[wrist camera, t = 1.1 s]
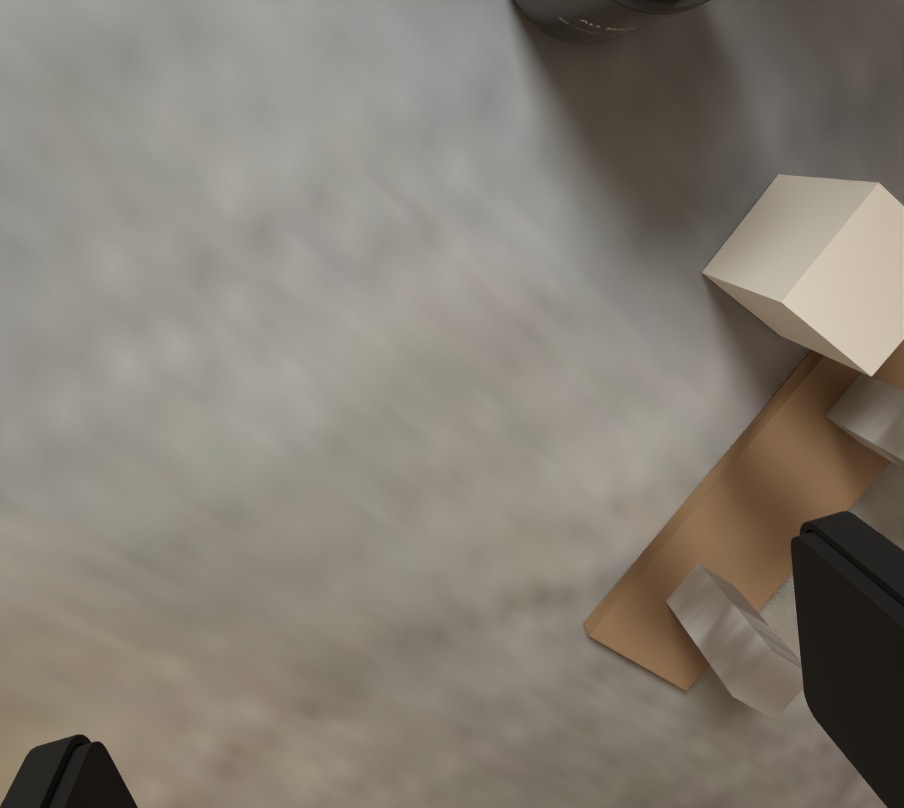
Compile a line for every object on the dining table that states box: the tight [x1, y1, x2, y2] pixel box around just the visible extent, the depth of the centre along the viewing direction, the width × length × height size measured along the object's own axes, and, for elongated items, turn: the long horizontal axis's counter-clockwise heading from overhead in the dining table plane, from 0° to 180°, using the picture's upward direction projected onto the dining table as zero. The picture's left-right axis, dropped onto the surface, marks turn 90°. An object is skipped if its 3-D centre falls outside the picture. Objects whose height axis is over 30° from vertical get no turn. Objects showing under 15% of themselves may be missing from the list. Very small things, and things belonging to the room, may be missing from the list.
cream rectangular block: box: [702, 174, 904, 377], centre depth 31 cm, size 5×5×7 cm
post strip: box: [583, 340, 904, 720], centre depth 35 cm, size 22×7×8 cm, turn 144°
